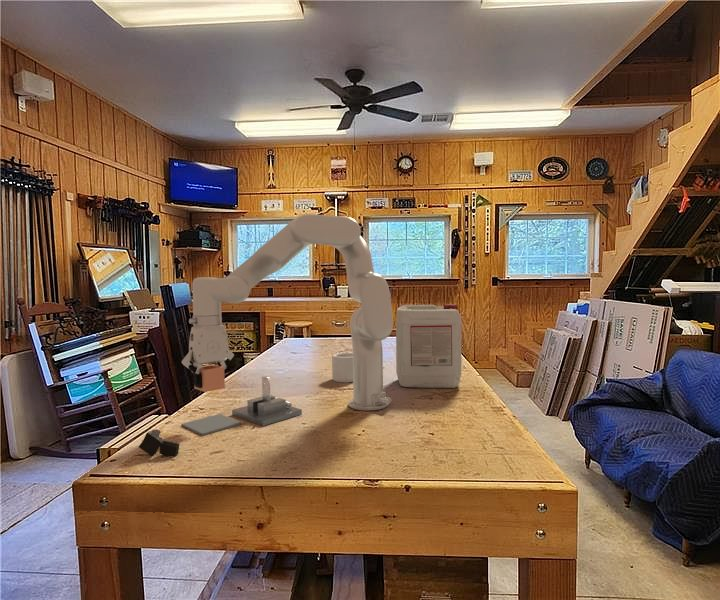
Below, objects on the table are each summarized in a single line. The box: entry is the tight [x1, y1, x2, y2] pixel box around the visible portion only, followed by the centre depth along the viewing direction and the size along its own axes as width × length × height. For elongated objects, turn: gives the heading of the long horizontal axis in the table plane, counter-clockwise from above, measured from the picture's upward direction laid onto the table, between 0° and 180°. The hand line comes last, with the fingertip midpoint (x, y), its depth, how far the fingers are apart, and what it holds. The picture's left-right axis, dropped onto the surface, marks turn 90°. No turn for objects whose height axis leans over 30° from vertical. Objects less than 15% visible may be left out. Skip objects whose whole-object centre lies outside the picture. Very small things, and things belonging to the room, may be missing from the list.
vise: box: [231, 375, 303, 427], centre depth 140 cm, size 16×14×12 cm
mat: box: [181, 413, 243, 437], centre depth 132 cm, size 12×12×1 cm
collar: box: [193, 363, 226, 393], centre depth 131 cm, size 6×6×6 cm
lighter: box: [138, 429, 180, 457], centre depth 111 cm, size 9×2×6 cm
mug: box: [331, 352, 353, 383], centre depth 185 cm, size 14×11×10 cm
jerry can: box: [395, 303, 463, 389], centre depth 175 cm, size 24×19×30 cm
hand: (209, 384), depth 131 cm, fingers closed on collar, 6 cm apart
